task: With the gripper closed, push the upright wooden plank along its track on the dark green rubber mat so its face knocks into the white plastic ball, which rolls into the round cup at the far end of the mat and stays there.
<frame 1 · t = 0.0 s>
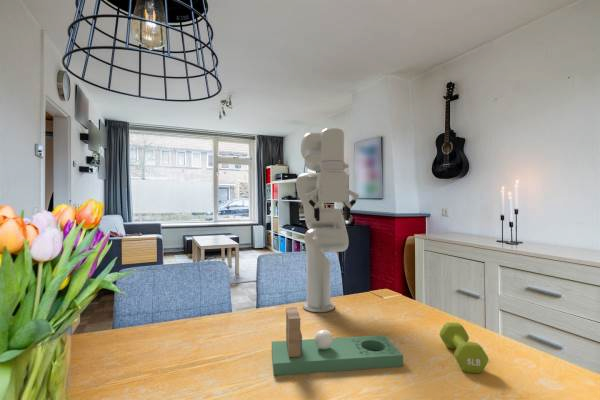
hand: (332, 220, 103), 37 cm above the table, tool pointing down, fingers open, 9 cm apart
upright wooden plank: (293, 331, 86), point 8 cm above the table, slide at 0.0 cm
putting mat: (334, 358, 88), on the table
ball: (323, 339, 87), point 5 cm above the table, touching putting mat
dumbbell: (461, 359, 88), on the table
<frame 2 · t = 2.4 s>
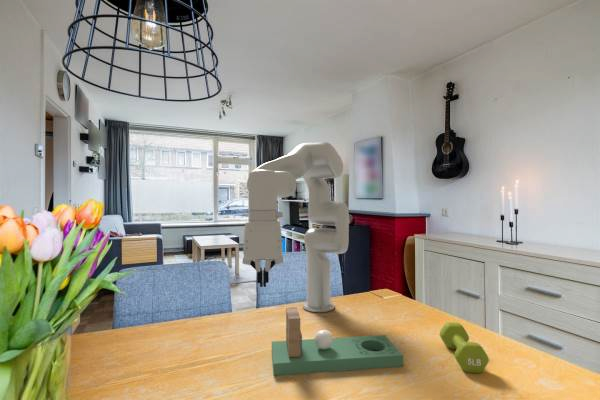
hand: (262, 285, 85), 21 cm above the table, tool pointing down, fingers closed
nothing on the table moved.
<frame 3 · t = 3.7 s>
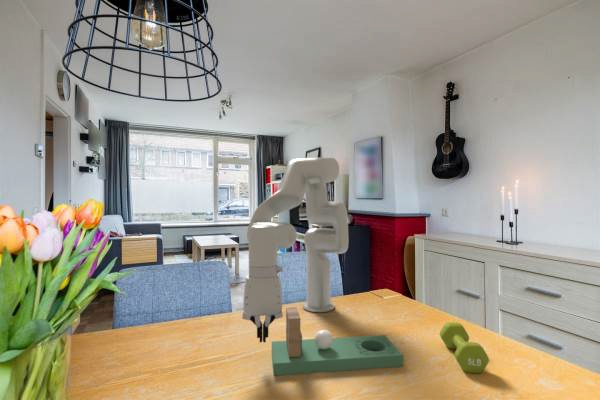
hand: (262, 339, 85), 6 cm above the table, tool pointing down, fingers closed
nothing on the table moved.
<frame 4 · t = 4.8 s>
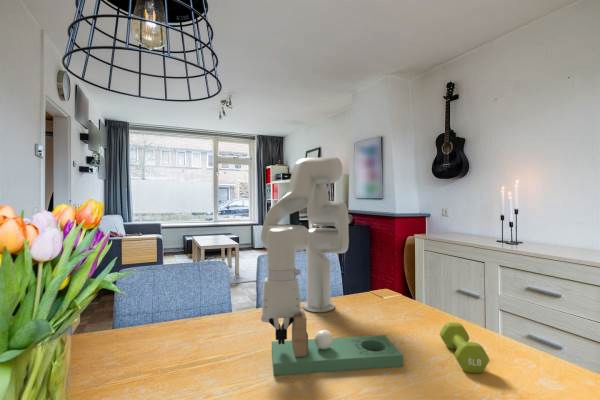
hand: (281, 341, 86), 6 cm above the table, tool pointing down, fingers closed
upright wooden plank: (299, 330, 86), point 8 cm above the table, slide at 1.6 cm, touching gripper
everything else where it was.
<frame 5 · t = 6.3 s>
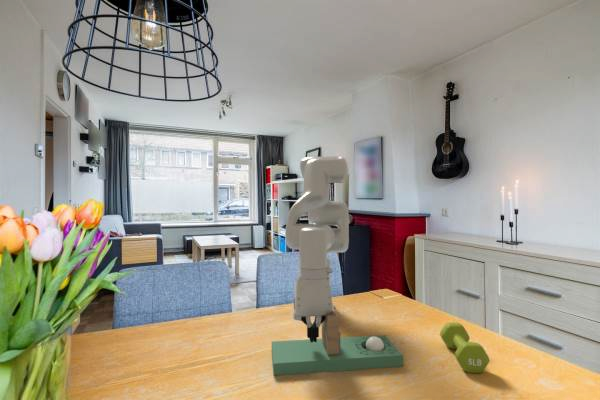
hand: (312, 339, 87), 6 cm above the table, tool pointing down, fingers closed
upright wooden plank: (331, 329, 87), point 8 cm above the table, slide at 10.3 cm, touching gripper
ball: (374, 346, 89), point 3 cm above the table, tilted 10°, touching putting mat
everything else where it was.
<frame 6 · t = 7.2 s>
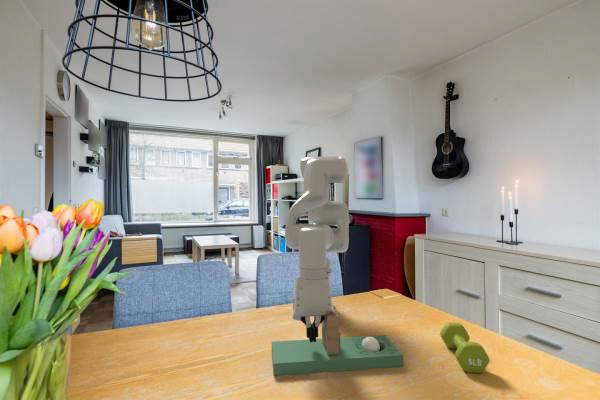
hand: (312, 339, 87), 6 cm above the table, tool pointing down, fingers closed
upright wooden plank: (331, 329, 87), point 8 cm above the table, slide at 10.3 cm
ball: (370, 346, 89), point 3 cm above the table, tilted 39°, touching putting mat
everything else where it was.
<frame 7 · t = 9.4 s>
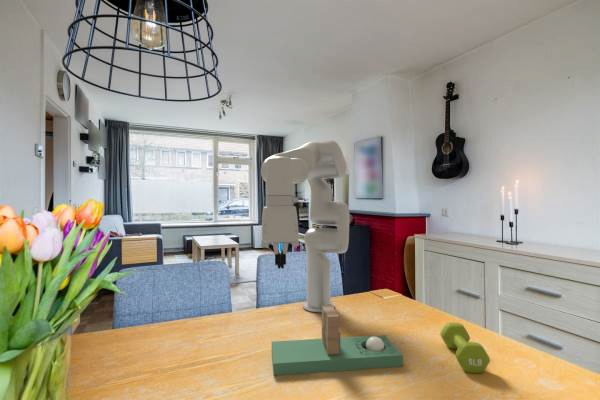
hand: (280, 267, 89), 25 cm above the table, tool pointing down, fingers closed
ball: (375, 346, 89), point 3 cm above the table, tilted 8°, touching putting mat
everything else where it was.
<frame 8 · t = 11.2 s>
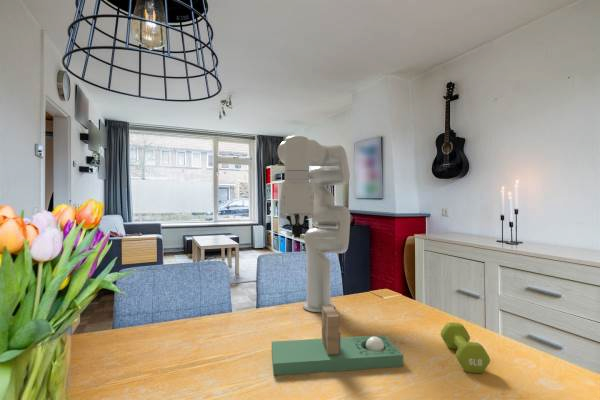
hand: (296, 237, 98), 32 cm above the table, tool pointing down, fingers closed
nothing on the table moved.
at the end: ball 0.6 cm from the target spot on the putting mat, point 2.8 cm above the putting mat's base; upright wooden plank slide at 10.3 cm; the gripper is holding nothing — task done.
